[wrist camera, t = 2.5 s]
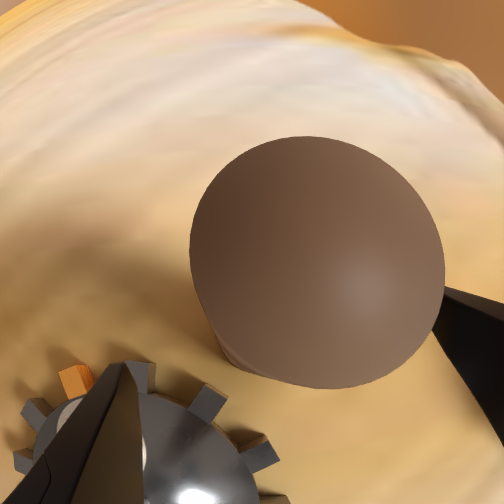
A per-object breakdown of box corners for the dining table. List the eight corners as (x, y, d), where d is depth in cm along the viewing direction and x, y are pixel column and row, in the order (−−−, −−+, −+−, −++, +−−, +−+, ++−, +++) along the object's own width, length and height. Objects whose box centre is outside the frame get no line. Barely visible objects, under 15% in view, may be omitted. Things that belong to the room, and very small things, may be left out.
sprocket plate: (275, 591, 10) (280, 608, 8) (42, 546, 9) (28, 556, 7) (293, 373, 16) (302, 374, 14) (28, 339, 15) (9, 334, 13)
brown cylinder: (293, 374, 16) (452, 376, 4) (217, 371, 16) (175, 383, 4) (294, 302, 17) (420, 155, 5) (222, 298, 17) (206, 127, 5)
